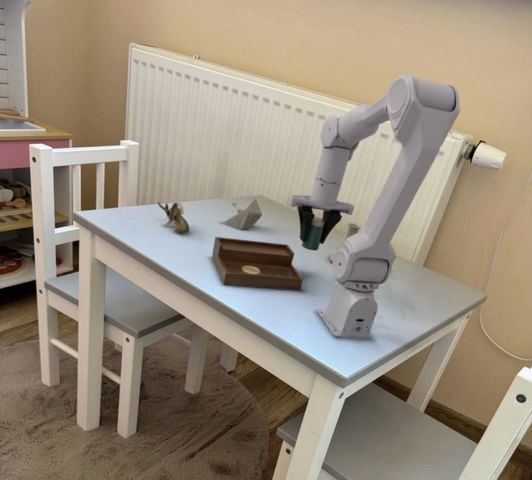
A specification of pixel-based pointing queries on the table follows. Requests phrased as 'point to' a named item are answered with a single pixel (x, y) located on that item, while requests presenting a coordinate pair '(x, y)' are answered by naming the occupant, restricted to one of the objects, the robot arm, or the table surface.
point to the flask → (350, 231)
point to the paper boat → (245, 216)
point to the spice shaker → (314, 234)
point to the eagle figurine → (176, 217)
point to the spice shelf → (255, 264)
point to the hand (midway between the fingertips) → (311, 241)
